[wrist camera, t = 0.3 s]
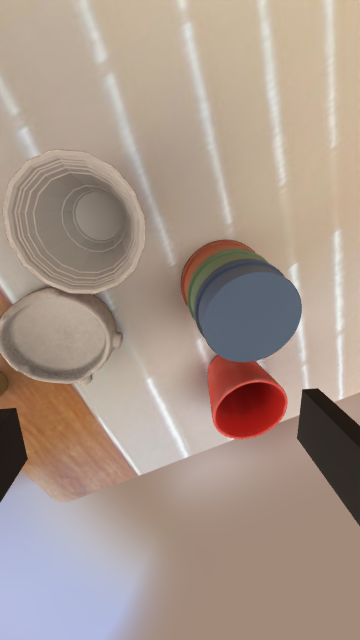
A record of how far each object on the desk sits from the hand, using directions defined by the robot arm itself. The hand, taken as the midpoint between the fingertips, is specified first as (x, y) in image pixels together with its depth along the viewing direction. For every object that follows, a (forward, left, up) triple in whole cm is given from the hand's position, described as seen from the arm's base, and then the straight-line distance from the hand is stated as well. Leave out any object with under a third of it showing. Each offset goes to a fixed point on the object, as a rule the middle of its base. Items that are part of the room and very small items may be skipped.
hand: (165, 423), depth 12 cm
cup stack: (-3, +10, -26) cm, 27 cm away
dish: (+13, -6, -26) cm, 30 cm away
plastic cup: (-3, -8, -26) cm, 27 cm away
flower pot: (+9, +20, -26) cm, 34 cm away
